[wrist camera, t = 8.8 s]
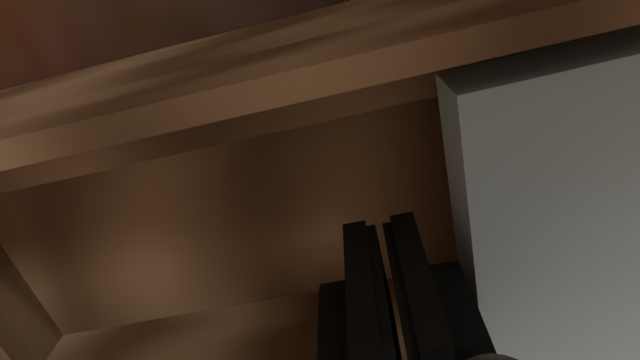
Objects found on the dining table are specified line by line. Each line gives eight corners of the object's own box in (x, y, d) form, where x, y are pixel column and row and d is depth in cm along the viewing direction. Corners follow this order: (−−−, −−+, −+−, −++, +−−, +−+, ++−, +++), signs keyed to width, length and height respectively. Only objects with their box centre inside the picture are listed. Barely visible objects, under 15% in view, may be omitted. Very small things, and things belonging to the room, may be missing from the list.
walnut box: (628, -72, 12) (953, -89, 6) (607, 263, 16) (767, 447, 10) (-101, 115, 14) (-411, 239, 8) (67, 352, 19) (-52, 538, 13)
